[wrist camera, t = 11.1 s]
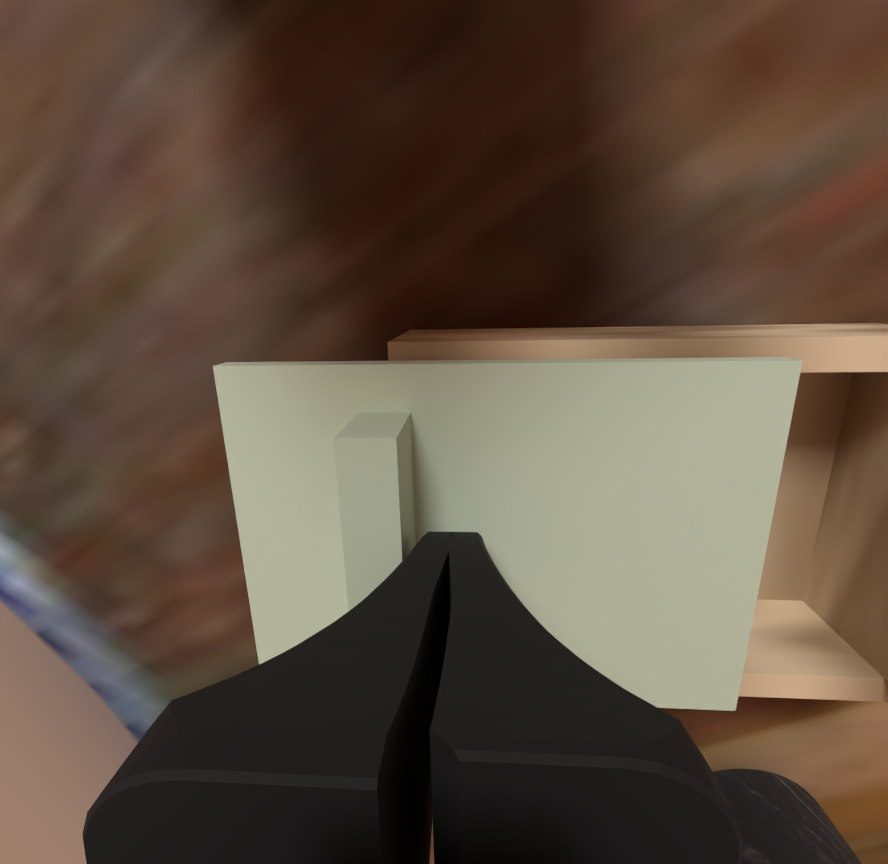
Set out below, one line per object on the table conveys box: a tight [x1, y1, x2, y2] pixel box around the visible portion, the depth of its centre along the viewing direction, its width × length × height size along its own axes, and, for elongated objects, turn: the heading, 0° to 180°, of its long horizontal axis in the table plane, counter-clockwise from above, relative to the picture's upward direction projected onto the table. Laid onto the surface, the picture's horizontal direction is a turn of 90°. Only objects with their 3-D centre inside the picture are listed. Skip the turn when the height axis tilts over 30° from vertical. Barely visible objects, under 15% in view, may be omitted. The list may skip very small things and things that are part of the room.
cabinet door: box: [213, 357, 803, 711], centre depth 11 cm, size 13×9×3 cm
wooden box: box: [387, 323, 888, 702], centre depth 13 cm, size 14×10×6 cm
